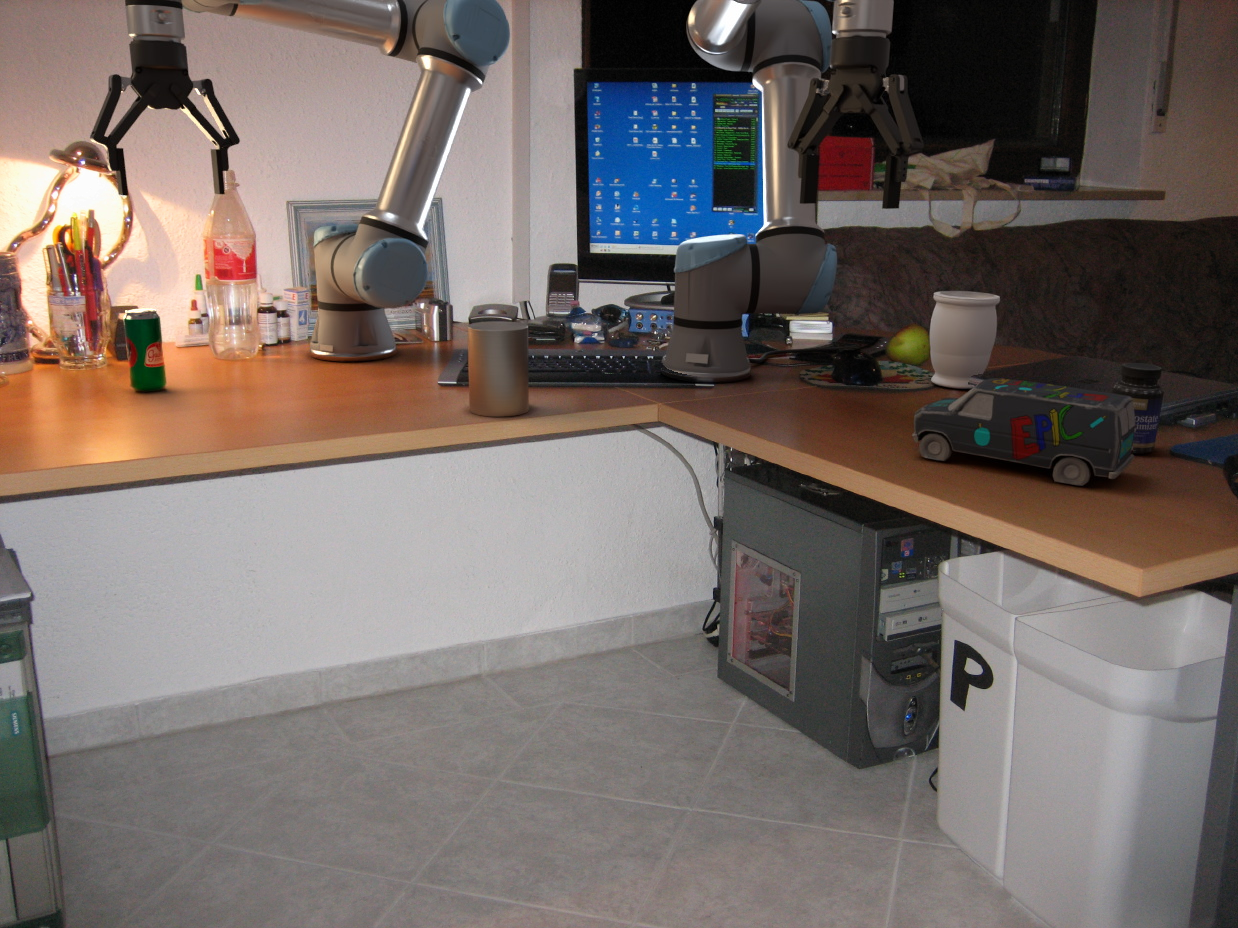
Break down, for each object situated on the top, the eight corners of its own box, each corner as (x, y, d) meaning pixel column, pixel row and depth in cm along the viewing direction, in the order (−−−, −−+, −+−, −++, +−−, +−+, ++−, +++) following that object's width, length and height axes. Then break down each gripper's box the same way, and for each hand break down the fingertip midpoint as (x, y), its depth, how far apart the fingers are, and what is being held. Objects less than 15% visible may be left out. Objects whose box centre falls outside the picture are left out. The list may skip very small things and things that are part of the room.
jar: (911, 380, 181) (920, 291, 177) (960, 376, 185) (969, 289, 181) (953, 393, 172) (963, 299, 168) (1003, 388, 176) (1014, 297, 172)
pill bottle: (1117, 454, 138) (1130, 370, 135) (1094, 442, 144) (1106, 361, 140) (1163, 454, 138) (1177, 370, 135) (1139, 442, 144) (1152, 361, 141)
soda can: (154, 393, 161) (145, 313, 158) (124, 391, 162) (115, 312, 158) (173, 386, 166) (166, 309, 162) (144, 384, 167) (136, 307, 163)
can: (457, 411, 154) (455, 326, 151) (493, 400, 161) (492, 319, 158) (505, 419, 150) (504, 332, 147) (540, 408, 157) (540, 325, 154)
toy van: (935, 438, 144) (942, 365, 141) (1133, 472, 130) (1146, 392, 127) (905, 455, 135) (913, 378, 133) (1114, 493, 122) (1127, 408, 119)
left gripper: (65, 32, 142) (85, 196, 148) (253, 45, 156) (265, 194, 162) (55, 36, 148) (75, 194, 154) (237, 48, 162) (249, 192, 168)
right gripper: (768, 40, 144) (759, 202, 150) (928, 28, 127) (911, 211, 133) (803, 45, 149) (793, 201, 155) (962, 33, 131) (944, 210, 137)
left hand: (172, 195), depth 158 cm, fingers open, 13 cm apart
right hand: (847, 206), depth 144 cm, fingers open, 13 cm apart
